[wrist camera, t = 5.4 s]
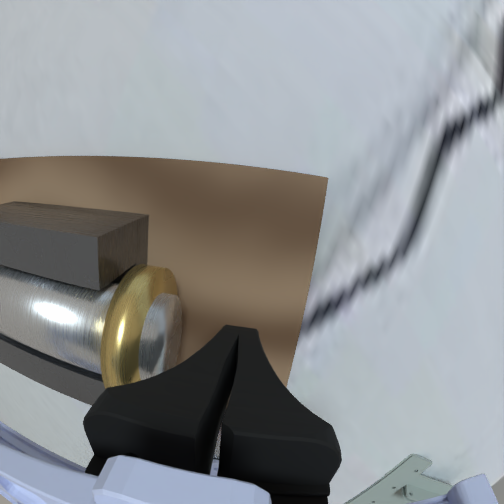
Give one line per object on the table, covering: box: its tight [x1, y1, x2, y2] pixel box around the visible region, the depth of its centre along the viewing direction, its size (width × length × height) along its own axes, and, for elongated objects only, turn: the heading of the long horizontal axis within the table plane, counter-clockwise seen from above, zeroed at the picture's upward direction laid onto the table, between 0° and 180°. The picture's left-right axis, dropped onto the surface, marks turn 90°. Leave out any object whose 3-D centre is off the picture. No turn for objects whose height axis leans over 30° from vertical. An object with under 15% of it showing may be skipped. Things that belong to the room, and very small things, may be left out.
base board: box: [0, 156, 328, 409], centre depth 16 cm, size 14×24×1 cm, turn 83°
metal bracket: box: [344, 454, 453, 504], centre depth 21 cm, size 14×6×15 cm
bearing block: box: [0, 201, 149, 405], centre depth 13 cm, size 9×10×5 cm
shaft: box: [0, 264, 182, 389], centre depth 12 cm, size 6×16×6 cm, turn 83°
